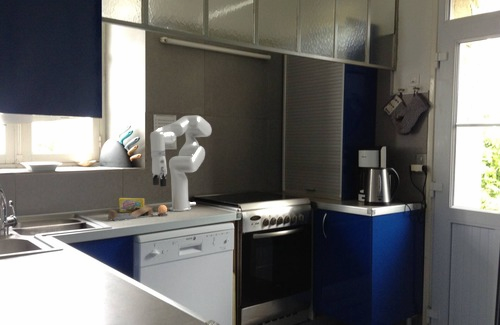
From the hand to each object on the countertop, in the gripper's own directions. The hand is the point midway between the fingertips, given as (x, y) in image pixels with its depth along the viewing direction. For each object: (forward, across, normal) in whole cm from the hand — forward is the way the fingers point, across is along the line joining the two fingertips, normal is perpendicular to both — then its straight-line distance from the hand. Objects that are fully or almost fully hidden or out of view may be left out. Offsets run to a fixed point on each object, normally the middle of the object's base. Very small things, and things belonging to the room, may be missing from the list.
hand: (159, 185), depth 255 cm
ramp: (+16, +5, +15) cm, 23 cm away
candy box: (+17, +23, +8) cm, 30 cm away
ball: (+13, -1, -1) cm, 13 cm away
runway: (+16, +5, +15) cm, 23 cm away
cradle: (+16, -1, -1) cm, 17 cm away
